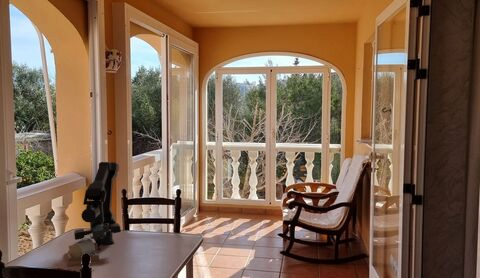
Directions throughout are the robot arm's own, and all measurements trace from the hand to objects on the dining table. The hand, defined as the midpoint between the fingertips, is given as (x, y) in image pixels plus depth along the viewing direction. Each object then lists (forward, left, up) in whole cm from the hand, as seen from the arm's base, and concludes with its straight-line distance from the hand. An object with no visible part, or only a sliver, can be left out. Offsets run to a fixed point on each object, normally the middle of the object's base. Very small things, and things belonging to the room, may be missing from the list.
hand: (99, 250), depth 168 cm
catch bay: (0, -7, -2) cm, 7 cm away
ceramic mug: (+2, -6, -2) cm, 7 cm away
